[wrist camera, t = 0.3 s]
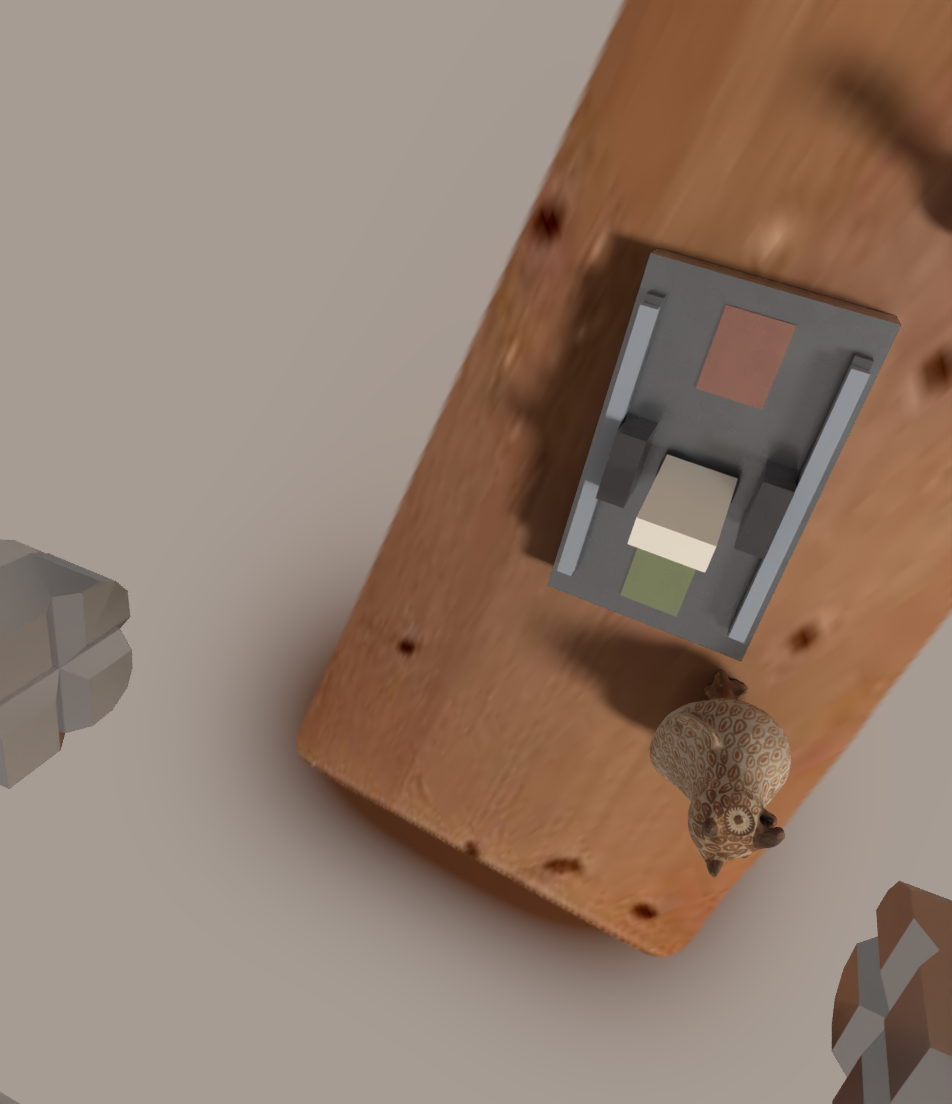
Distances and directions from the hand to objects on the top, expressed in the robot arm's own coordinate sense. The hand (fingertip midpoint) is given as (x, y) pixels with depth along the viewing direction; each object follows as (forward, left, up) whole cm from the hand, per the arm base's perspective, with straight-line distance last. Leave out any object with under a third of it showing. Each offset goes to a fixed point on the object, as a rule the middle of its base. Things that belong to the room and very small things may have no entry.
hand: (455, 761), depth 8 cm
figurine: (+30, +9, -47) cm, 57 cm away
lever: (+12, +1, -43) cm, 44 cm away
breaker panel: (+12, +1, -47) cm, 48 cm away
